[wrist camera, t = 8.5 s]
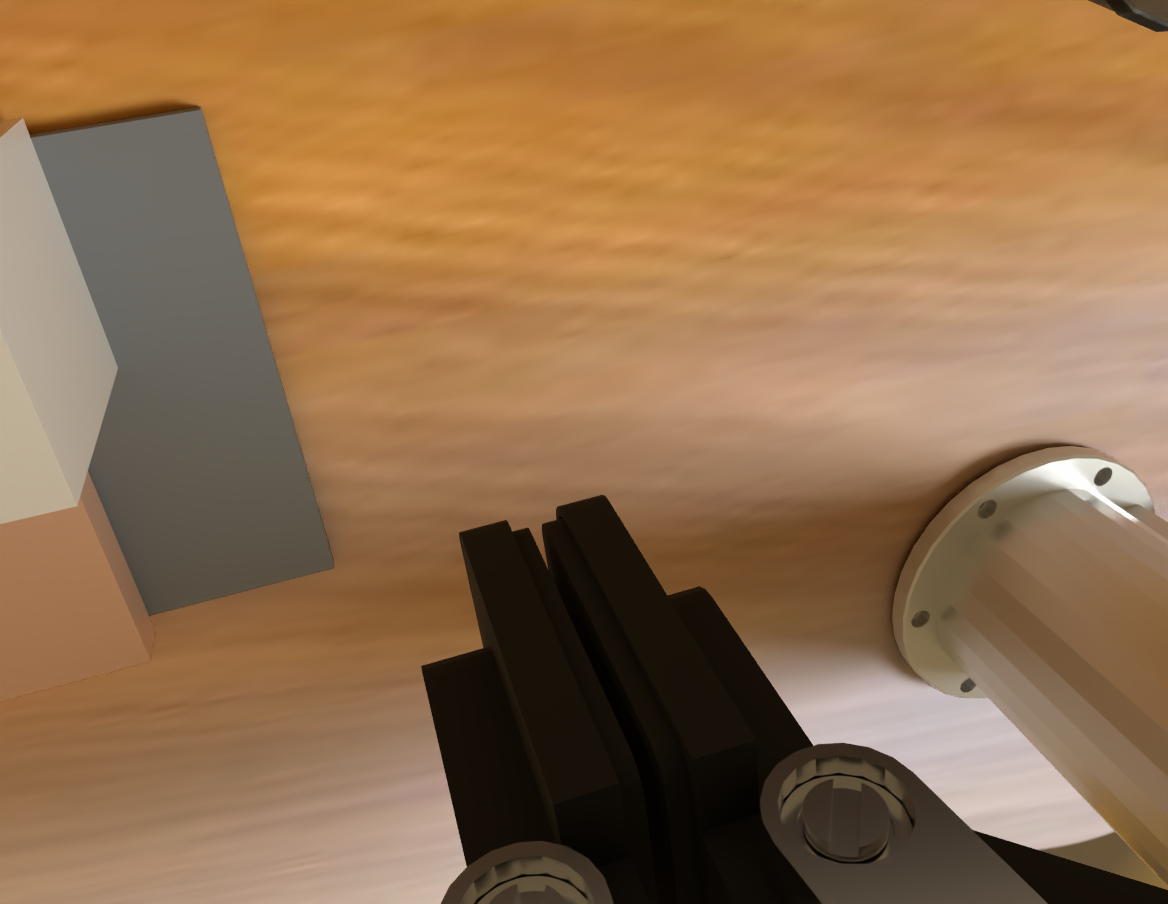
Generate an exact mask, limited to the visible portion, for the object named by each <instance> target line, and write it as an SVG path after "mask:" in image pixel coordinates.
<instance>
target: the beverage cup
mask: <svg viewBox="0 0 1168 904" xmlns="http://www.w3.org/2000/svg"><path fill="white" fill-rule="evenodd" d="M1089 1H1091V2H1093V3H1096V4H1098V5H1100V6H1103V7H1105V8H1107V9H1110V10H1112V11H1114V12H1116V14H1117V15H1119V16H1121V17H1123V18H1126V19H1128V20H1130V21H1133V22H1135V23H1137V24H1139V25H1142V26H1144V27H1146V28H1149V29H1151V30H1153V31H1156V32H1163V31H1168V0H1089Z"/></svg>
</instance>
